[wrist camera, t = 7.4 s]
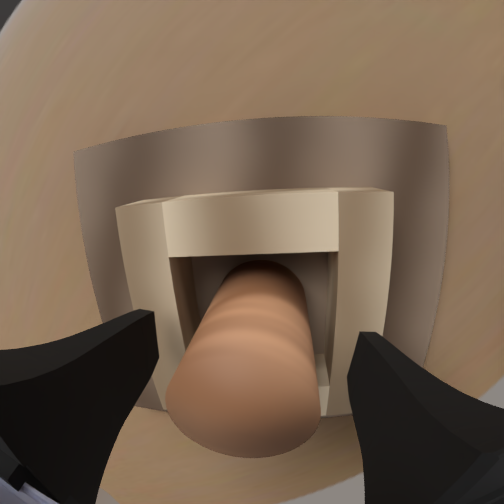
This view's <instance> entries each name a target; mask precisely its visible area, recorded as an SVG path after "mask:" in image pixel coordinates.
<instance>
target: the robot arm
mask: <svg viewBox="0 0 504 504" xmlns="http://www.w3.org/2000/svg"><path fill="white" fill-rule="evenodd" d="M158 359H159V349H158V341H157V333H156V323H155V313H154V311H150V310H144V309H137V310H134V311H131V312H128V313H126V314H124V315H121V316H119V317H117V318H114V319H112V320H110V321H107V322H105V323H103V324H100V325H98V326H96V327H93V328H91V329H88V330H85V331H83V332H80V333H78V334H75V335H72V336H70V337H67V338H63V339H60V340H57V341H53V342H49V343H45V344H41V345H36V346H30V347H24V348H18V349H8V350H0V504H95V502H96V498H97V494H98V490H99V486H100V483H101V480H102V477H103V473H104V470H105V467H106V464H107V462H108V459H109V456H110V453H111V451H112V448H113V446H114V443H115V441H116V439H117V436H118V434H119V432H120V429H121V428H122V426H123V424H124V422H125V420H126V418H127V417H128V415H129V413H130V412H131V410H132V409H133V407H134V405H135V404H136V402H137V400H138V399H139V397H140V395H141V394H142V392H143V390H144V389H145V387H146V385H147V384H148V382H149V380H150V379H151V376H152V374H153V372H154V369H155V367H156V365H157V362H158ZM347 385H348V395H349V402H350V406H351V410H352V414H353V418H354V422H355V426H356V430H357V435H358V439H359V443H360V447H361V453H362V459H363V470H364V486H365V504H504V409H502V408H499V407H496V406H493V405H490V404H488V403H484V402H482V401H480V400H478V399H475V398H473V397H471V396H469V395H466V394H464V393H462V392H460V391H458V390H457V389H455V388H453V387H451V386H450V385H448V384H446V383H444V382H443V381H441V380H439V379H438V378H436V377H435V376H433V375H432V374H431V373H429V372H428V371H426V370H425V369H423V368H422V367H421V366H419V365H418V364H417V363H415V362H414V361H413V360H411V359H410V358H409V357H408V356H406V355H405V354H404V353H403V352H401V351H400V350H399V349H398V348H396V347H395V346H394V345H393V344H391V343H390V342H389V341H388V340H386V339H385V338H384V337H383V336H381V335H380V334H378V333H377V332H364V331H359V335H358V339H357V343H356V346H355V350H354V354H353V357H352V361H351V364H350V367H349V371H348V374H347Z"/></svg>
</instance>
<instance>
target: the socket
mask: <svg viewBox="0 0 504 504" xmlns="http://www.w3.org/2000/svg"><path fill="white" fill-rule="evenodd" d="M74 168H75V180H76V191H77V200H78V208H79V215H80V222H81V229H82V235H83V241H84V246H85V252H86V257H87V262H88V267H89V271H90V276H91V280H92V284H93V289H94V293H95V297H96V300H97V304H98V308H99V312H100V315H101V319H102V322H103V323H105V322H107V321H110V320H112V319H114V318H117V317H119V316H121V315H124V314H126V313H128V312H131V311H134V310H137V309H144V310H150V311H154V313H155V323H156V333H157V341H158V349H159V359H158V362H157V365H156V367H155V369H154V372H153V374H152V376H151V379H150V380H149V382H148V384H147V385H146V387H145V389H144V390H143V392H142V394H141V395H140V397H139V399H138V400H137V402H136V404H135V405H134V406H137V407H142V408H148V409H154V410H160V411H166V412H168V410H167V408H166V402H165V394H166V390H167V387H168V385H169V383H170V381H171V379H172V377H173V375H174V373H175V371H176V369H177V367H178V365H179V363H180V361H181V359H182V357H183V355H184V354H185V352H186V350H187V348H188V346H189V344H190V342H191V340H192V338H193V336H194V334H195V332H196V330H197V329H198V327H199V325H200V323H201V321H202V319H203V317H204V315H205V313H206V311H207V309H208V308H209V306H210V304H211V302H212V300H213V298H214V296H215V294H216V292H217V290H218V289H219V287H220V285H221V283H222V281H223V279H224V278H225V276H226V275H227V274H228V273H229V272H230V271H231V270H232V269H233V268H235V267H236V266H238V265H240V264H242V263H245V262H248V261H252V260H269V261H273V262H277V263H279V264H282V265H283V266H285V267H287V268H288V269H290V270H291V271H292V272H293V273H294V274H295V275H296V276H297V277H298V279H299V280H300V282H301V284H302V286H303V288H304V292H305V297H306V303H307V309H308V316H309V323H310V329H311V336H312V343H313V350H314V358H315V365H316V373H317V381H318V389H319V398H320V407H321V418H327V417H339V416H349V415H353V414H352V410H351V406H350V402H349V395H348V385H347V374H348V371H349V367H350V364H351V361H352V357H353V354H354V350H355V346H356V343H357V339H358V335H359V331H364V332H377V333H378V334H380V335H381V336H383V337H384V338H385V339H386V340H388V341H389V342H390V343H391V344H393V345H394V346H395V347H396V348H398V349H399V350H400V351H401V352H403V353H404V354H405V355H406V356H408V357H409V358H410V359H411V360H413V361H414V362H415V363H417V364H418V365H419V366H421V367H422V368H423V365H424V361H425V358H426V354H427V350H428V346H429V343H430V338H431V334H432V330H433V326H434V321H435V317H436V312H437V307H438V301H439V296H440V290H441V284H442V277H443V270H444V262H445V253H446V243H447V231H448V215H449V155H448V139H447V127H446V125H439V124H432V123H424V122H416V121H407V120H397V119H385V118H369V117H344V116H300V117H275V118H259V119H246V120H235V121H225V122H217V123H208V124H201V125H194V126H187V127H181V128H174V129H169V130H163V131H158V132H152V133H147V134H142V135H138V136H133V137H128V138H124V139H120V140H115V141H111V142H107V143H103V144H99V145H96V146H92V147H88V148H85V149H81V150H78V151H74Z"/></svg>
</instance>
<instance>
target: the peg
mask: <svg viewBox="0 0 504 504" xmlns="http://www.w3.org/2000/svg"><path fill="white" fill-rule="evenodd" d="M165 402H166V408H167V410H168V413H169V415H170V417H171V419H172V421H173V422H174V423H175V425H176V426H177V427H178V428H179V429H180V430H181V431H182V432H183V433H184V434H185V435H186V436H187V437H189V438H190V439H191V440H193V441H194V442H196V443H198V444H199V445H201V446H203V447H205V448H208V449H210V450H213V451H215V452H218V453H222V454H225V455H230V456H235V457H243V458H262V457H270V456H275V455H279V454H283V453H286V452H288V451H291V450H293V449H295V448H297V447H299V446H300V445H302V444H303V443H305V442H306V441H307V440H308V439H309V438H310V437H311V436H312V435H313V434H314V432H315V431H316V429H317V427H318V425H319V422H320V418H321V407H320V398H319V389H318V381H317V373H316V365H315V358H314V350H313V343H312V336H311V329H310V323H309V316H308V309H307V303H306V297H305V292H304V288H303V286H302V284H301V282H300V280H299V279H298V277H297V276H296V275H295V274H294V273H293V272H292V271H291V270H290V269H288V268H287V267H285V266H283V265H282V264H279V263H277V262H273V261H269V260H252V261H248V262H245V263H242V264H240V265H238V266H236V267H235V268H233V269H232V270H231V271H230V272H229V273H228V274H227V275H226V276H225V278H224V279H223V281H222V283H221V285H220V287H219V289H218V290H217V292H216V294H215V296H214V298H213V300H212V302H211V304H210V306H209V308H208V309H207V311H206V313H205V315H204V317H203V319H202V321H201V323H200V325H199V327H198V329H197V330H196V332H195V334H194V336H193V338H192V340H191V342H190V344H189V346H188V348H187V350H186V352H185V354H184V355H183V357H182V359H181V361H180V363H179V365H178V367H177V369H176V371H175V373H174V375H173V377H172V379H171V381H170V383H169V385H168V387H167V390H166V394H165Z"/></svg>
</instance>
